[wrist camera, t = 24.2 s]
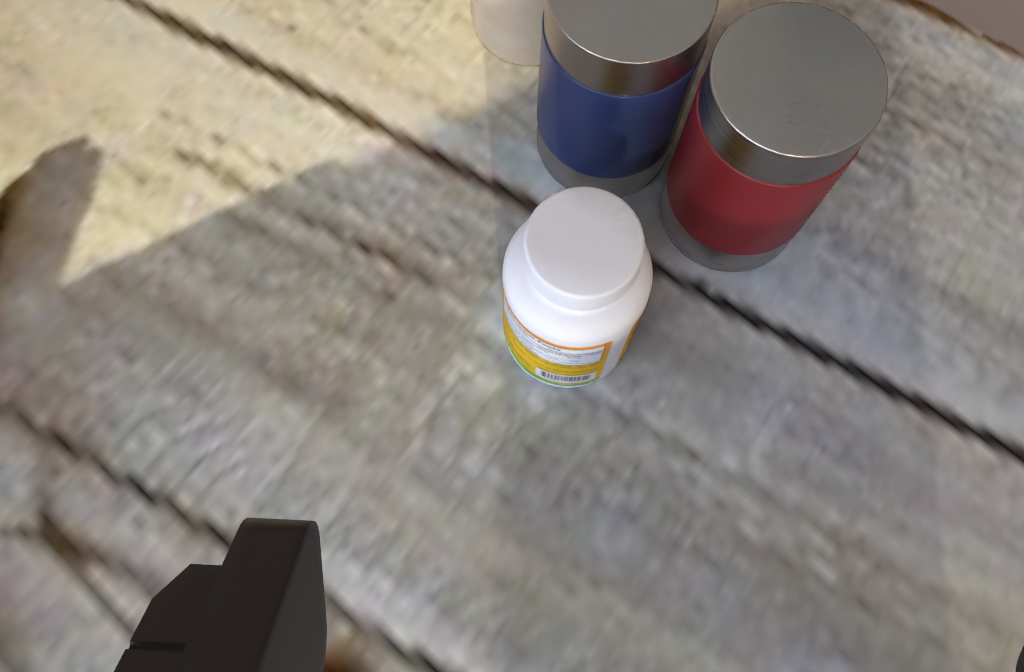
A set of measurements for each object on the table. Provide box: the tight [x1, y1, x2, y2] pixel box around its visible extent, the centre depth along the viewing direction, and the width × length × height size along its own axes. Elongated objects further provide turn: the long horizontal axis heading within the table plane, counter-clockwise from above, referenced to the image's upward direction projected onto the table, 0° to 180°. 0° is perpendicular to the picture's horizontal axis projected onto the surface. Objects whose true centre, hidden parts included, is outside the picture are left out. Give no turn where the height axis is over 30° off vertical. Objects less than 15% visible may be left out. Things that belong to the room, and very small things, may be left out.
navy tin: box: [537, 0, 718, 197], centre depth 36 cm, size 6×6×10 cm
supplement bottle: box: [502, 187, 653, 388], centre depth 34 cm, size 5×5×10 cm
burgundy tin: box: [660, 2, 888, 272], centre depth 35 cm, size 6×6×10 cm
